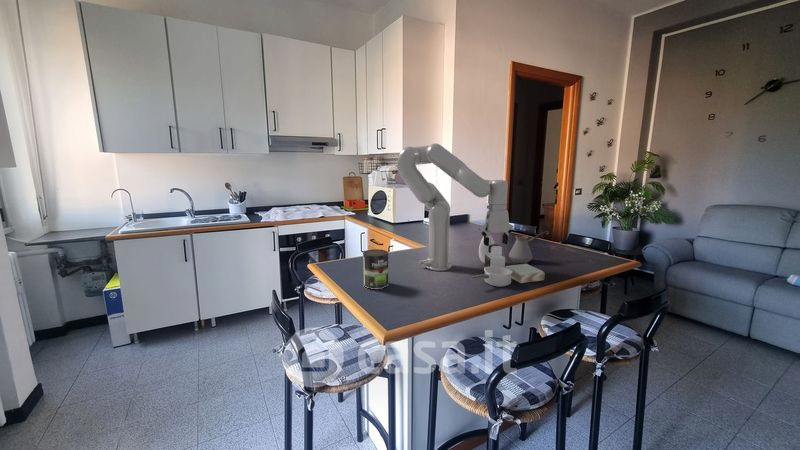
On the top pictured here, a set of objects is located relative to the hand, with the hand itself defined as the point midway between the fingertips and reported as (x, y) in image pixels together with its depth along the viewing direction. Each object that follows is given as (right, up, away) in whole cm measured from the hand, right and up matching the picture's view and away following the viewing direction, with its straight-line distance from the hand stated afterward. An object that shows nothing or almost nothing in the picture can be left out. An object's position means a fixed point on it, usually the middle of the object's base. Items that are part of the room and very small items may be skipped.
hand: (495, 244), depth 153 cm
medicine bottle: (0, -12, +2) cm, 13 cm away
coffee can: (-54, -16, -16) cm, 58 cm away
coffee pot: (+22, -9, +17) cm, 29 cm away
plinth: (+10, -14, -7) cm, 19 cm away
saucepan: (-7, -16, -16) cm, 24 cm away
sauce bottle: (-1, -10, +12) cm, 16 cm away
